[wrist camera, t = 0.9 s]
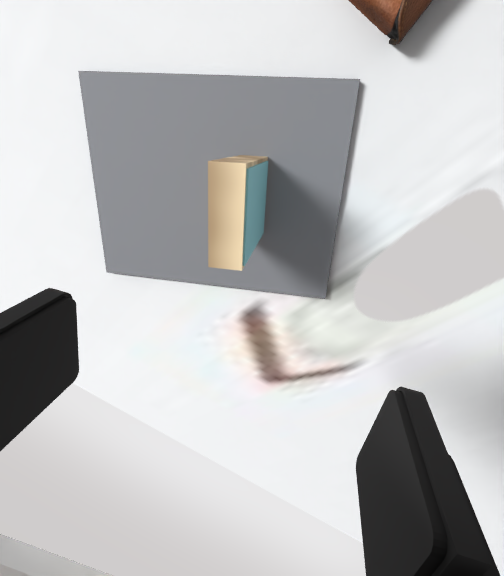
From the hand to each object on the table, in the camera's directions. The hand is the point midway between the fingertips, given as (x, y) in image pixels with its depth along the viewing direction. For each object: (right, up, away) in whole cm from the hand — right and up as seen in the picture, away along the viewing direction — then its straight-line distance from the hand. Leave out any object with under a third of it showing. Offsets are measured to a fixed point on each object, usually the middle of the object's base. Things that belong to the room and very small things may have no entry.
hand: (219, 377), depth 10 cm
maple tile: (+1, +11, +21) cm, 24 cm away
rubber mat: (-3, +12, +22) cm, 25 cm away
